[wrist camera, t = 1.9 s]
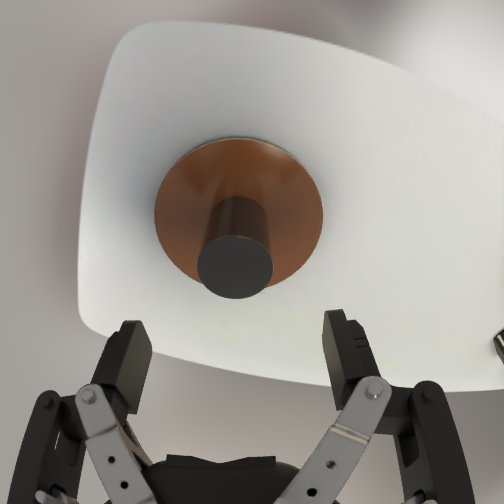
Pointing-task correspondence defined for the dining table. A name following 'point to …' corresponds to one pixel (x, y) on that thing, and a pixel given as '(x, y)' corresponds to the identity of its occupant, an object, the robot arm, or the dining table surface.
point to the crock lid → (238, 216)
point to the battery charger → (500, 345)
